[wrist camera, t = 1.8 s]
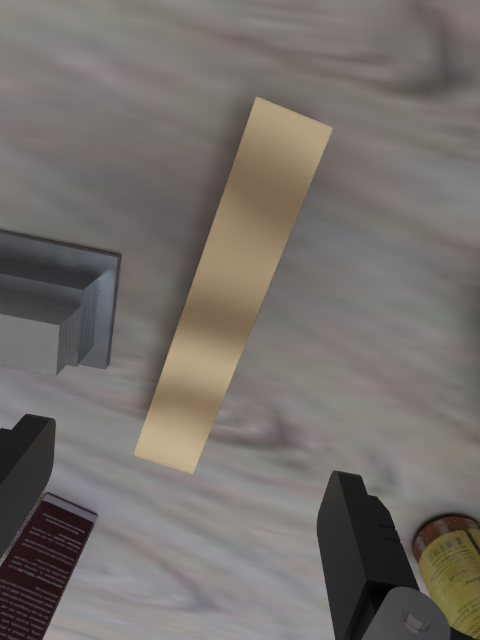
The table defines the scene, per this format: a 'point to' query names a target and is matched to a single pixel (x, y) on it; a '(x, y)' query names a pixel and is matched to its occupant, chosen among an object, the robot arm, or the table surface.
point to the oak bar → (231, 279)
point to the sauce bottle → (452, 570)
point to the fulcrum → (55, 304)
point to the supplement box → (41, 567)
